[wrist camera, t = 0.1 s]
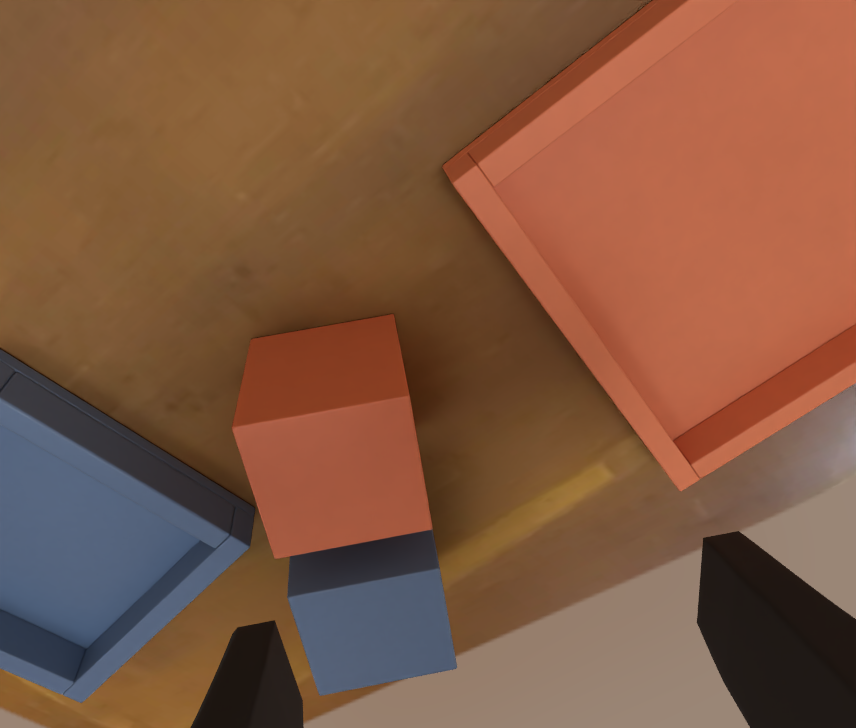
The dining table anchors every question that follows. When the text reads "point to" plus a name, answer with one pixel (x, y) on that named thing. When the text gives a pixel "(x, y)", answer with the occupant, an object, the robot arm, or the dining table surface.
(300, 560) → the slate block
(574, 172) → the terracotta tray
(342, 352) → the terracotta block
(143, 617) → the slate tray
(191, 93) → the dining table surface
